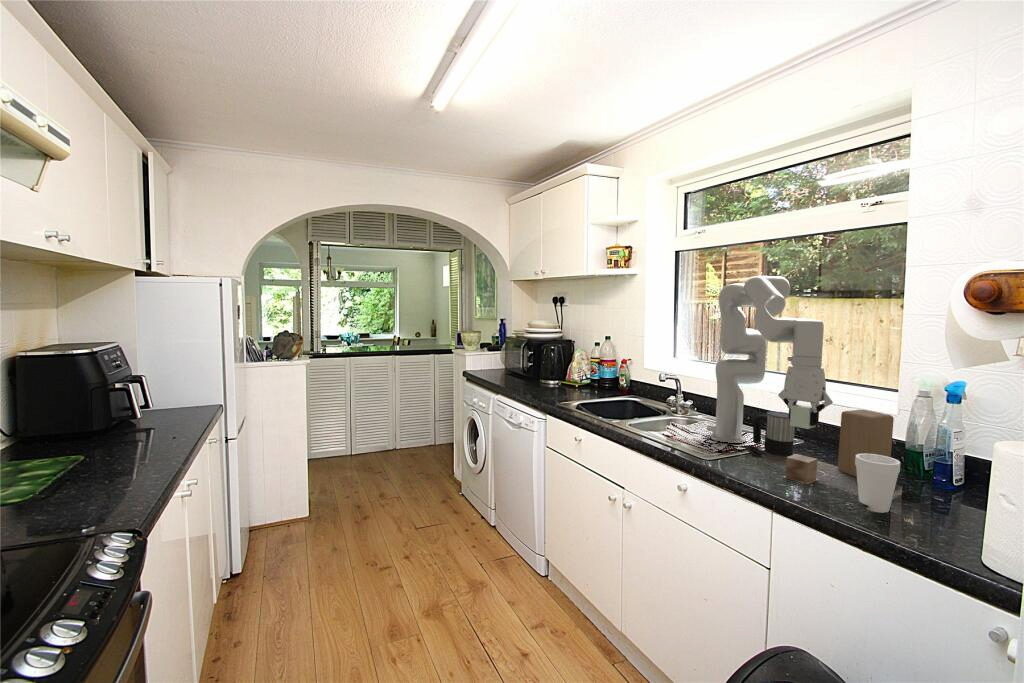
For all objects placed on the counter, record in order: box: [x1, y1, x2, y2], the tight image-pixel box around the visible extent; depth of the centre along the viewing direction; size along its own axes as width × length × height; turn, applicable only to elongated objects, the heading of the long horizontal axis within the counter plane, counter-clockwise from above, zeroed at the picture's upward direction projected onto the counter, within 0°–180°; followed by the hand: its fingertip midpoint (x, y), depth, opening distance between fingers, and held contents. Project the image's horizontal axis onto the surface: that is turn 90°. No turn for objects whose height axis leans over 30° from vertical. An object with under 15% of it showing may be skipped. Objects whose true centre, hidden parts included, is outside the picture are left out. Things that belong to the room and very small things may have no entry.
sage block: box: [790, 403, 817, 430], centre depth 150 cm, size 5×5×6 cm
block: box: [837, 409, 895, 477], centre depth 156 cm, size 10×10×20 cm
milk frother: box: [745, 410, 796, 459], centre depth 176 cm, size 14×16×15 cm
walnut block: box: [785, 453, 818, 484], centre depth 151 cm, size 6×6×6 cm
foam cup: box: [855, 454, 902, 514], centre depth 133 cm, size 10×9×13 cm
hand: (803, 422), depth 151 cm, fingers closed on sage block, 5 cm apart
